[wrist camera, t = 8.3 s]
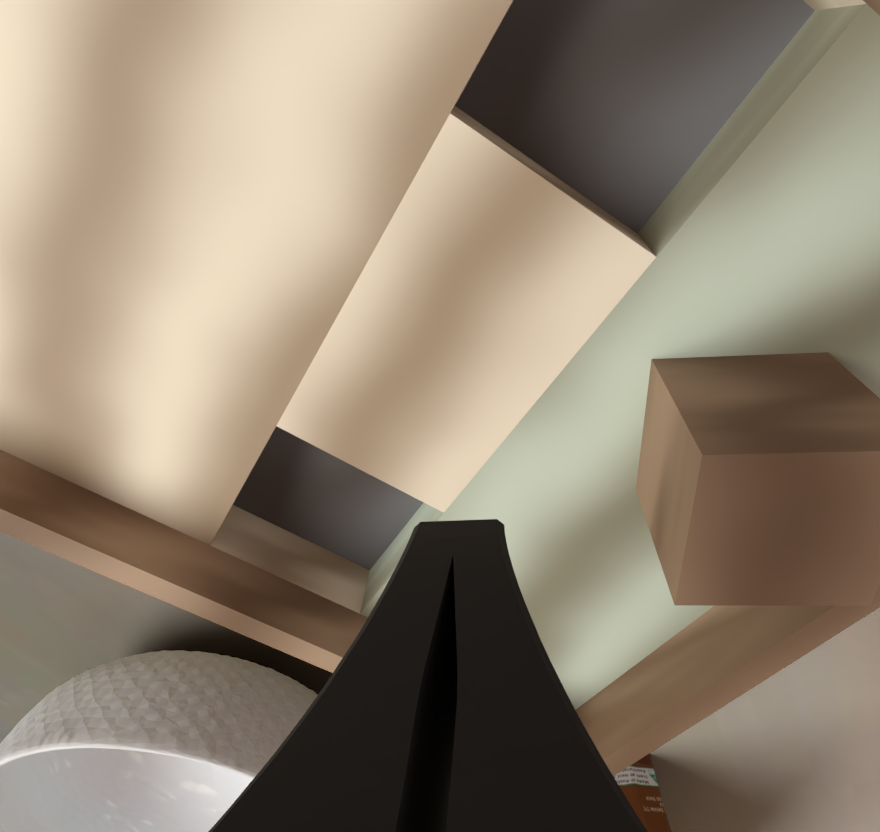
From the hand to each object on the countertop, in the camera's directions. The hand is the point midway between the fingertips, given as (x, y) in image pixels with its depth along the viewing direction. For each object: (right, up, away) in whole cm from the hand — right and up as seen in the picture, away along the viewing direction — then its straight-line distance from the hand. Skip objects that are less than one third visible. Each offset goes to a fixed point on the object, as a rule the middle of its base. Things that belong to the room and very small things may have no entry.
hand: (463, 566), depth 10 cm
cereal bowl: (-11, -12, +21) cm, 27 cm away
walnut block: (+8, +2, +7) cm, 11 cm away
